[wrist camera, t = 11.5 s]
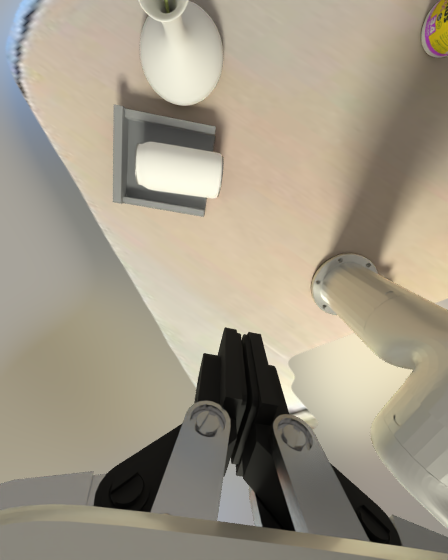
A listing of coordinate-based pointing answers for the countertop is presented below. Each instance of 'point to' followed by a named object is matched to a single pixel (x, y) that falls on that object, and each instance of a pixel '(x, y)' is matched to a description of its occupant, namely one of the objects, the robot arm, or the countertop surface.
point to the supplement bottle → (436, 30)
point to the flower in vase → (180, 50)
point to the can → (178, 169)
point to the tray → (161, 130)
